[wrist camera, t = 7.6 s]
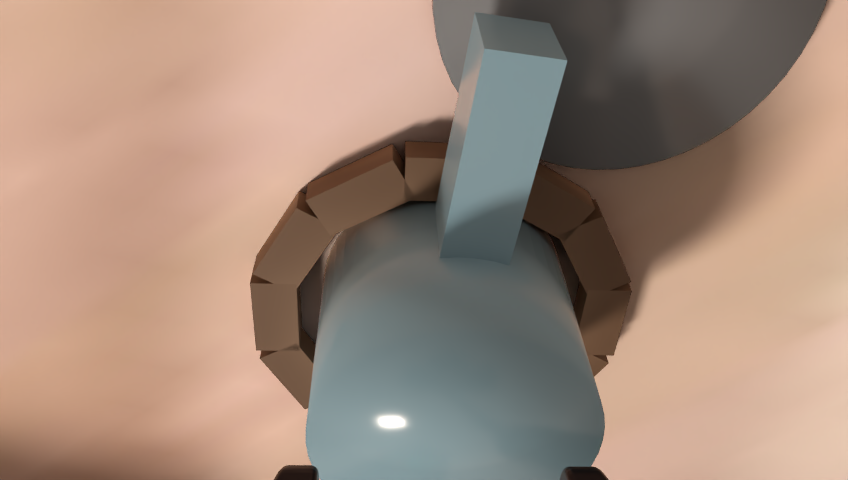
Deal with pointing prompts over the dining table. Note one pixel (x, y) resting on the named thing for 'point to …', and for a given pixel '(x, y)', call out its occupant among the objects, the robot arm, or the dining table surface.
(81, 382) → the dining table surface
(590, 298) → the holder ring
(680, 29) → the coaster
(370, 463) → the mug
